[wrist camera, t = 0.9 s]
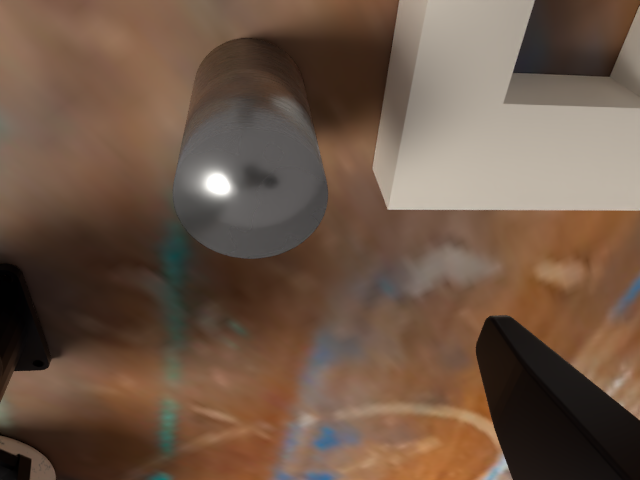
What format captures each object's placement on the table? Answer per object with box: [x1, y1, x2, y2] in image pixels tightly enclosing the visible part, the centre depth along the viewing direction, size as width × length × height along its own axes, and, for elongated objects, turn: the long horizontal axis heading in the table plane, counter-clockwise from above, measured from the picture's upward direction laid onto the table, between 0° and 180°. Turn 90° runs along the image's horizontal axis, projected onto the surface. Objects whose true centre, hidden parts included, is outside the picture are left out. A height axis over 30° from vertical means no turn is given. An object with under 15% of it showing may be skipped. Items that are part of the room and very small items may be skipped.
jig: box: [372, 0, 640, 210], centre depth 17 cm, size 14×12×3 cm
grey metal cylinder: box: [173, 38, 328, 259], centre depth 16 cm, size 4×4×7 cm
